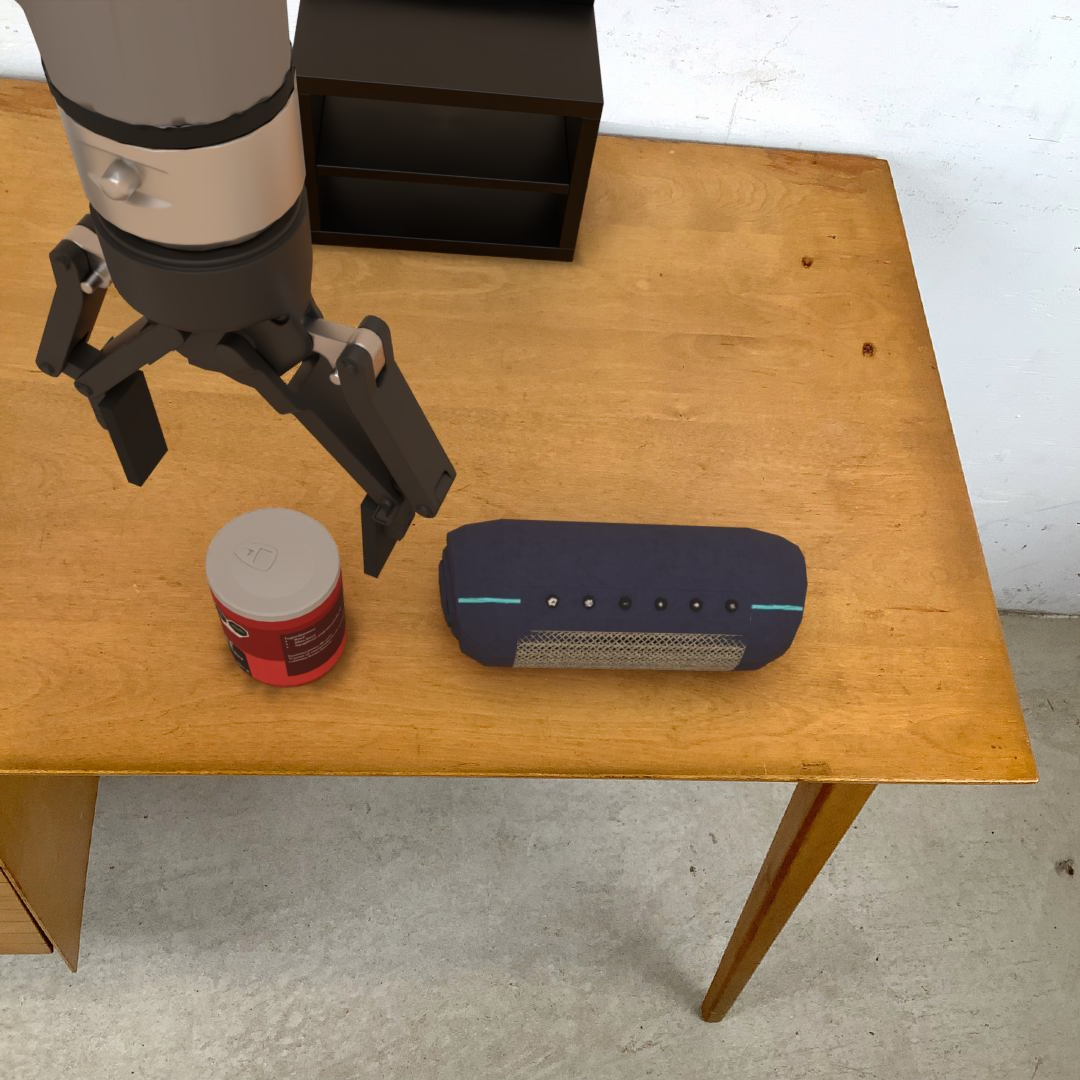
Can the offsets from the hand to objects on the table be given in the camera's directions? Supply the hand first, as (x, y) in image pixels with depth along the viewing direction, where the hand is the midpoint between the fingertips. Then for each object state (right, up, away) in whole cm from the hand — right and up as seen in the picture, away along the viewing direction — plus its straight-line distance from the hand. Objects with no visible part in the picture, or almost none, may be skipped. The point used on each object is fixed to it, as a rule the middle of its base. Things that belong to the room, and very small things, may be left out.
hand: (264, 510), depth 54 cm
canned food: (-3, -8, +16) cm, 19 cm away
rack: (+5, +30, +41) cm, 51 cm away
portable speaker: (+20, -8, +20) cm, 29 cm away
